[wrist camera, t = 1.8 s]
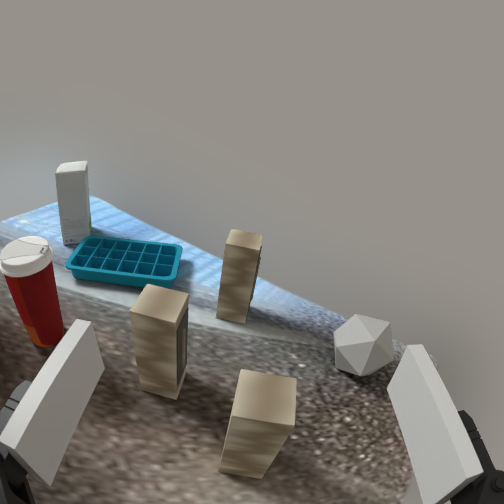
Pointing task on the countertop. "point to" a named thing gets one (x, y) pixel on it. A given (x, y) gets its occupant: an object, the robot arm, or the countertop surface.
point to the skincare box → (73, 201)
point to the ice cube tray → (125, 261)
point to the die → (363, 345)
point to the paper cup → (34, 288)
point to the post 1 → (160, 339)
